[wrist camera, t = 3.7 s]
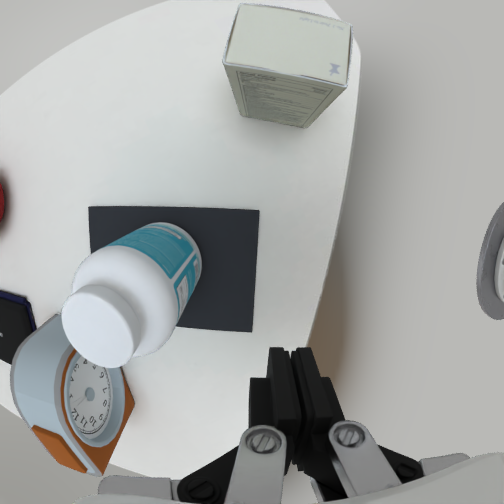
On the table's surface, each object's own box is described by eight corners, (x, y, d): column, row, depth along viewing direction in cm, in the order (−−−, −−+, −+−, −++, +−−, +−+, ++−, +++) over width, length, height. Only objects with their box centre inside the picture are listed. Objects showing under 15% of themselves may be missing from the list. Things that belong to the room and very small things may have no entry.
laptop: (-33, 264, 26) (-40, 267, 24) (39, 302, 27) (30, 308, 25) (-17, 342, 30) (-23, 347, 28) (55, 388, 31) (49, 395, 29)
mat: (259, 210, 24) (259, 210, 24) (252, 331, 27) (252, 332, 27) (89, 206, 24) (88, 206, 24) (100, 314, 27) (99, 315, 27)
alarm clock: (140, 410, 31) (108, 486, 18) (91, 402, 31) (53, 465, 18) (106, 316, 27) (38, 390, 14) (54, 314, 28) (-13, 370, 15)
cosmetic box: (314, 87, 22) (358, 23, 10) (307, 131, 23) (352, 90, 11) (245, 74, 21) (239, -2, 10) (236, 117, 22) (220, 63, 11)
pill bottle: (117, 241, 25) (24, 293, 12) (180, 207, 24) (105, 238, 11) (153, 307, 27) (92, 394, 14) (217, 279, 26) (185, 372, 13)
